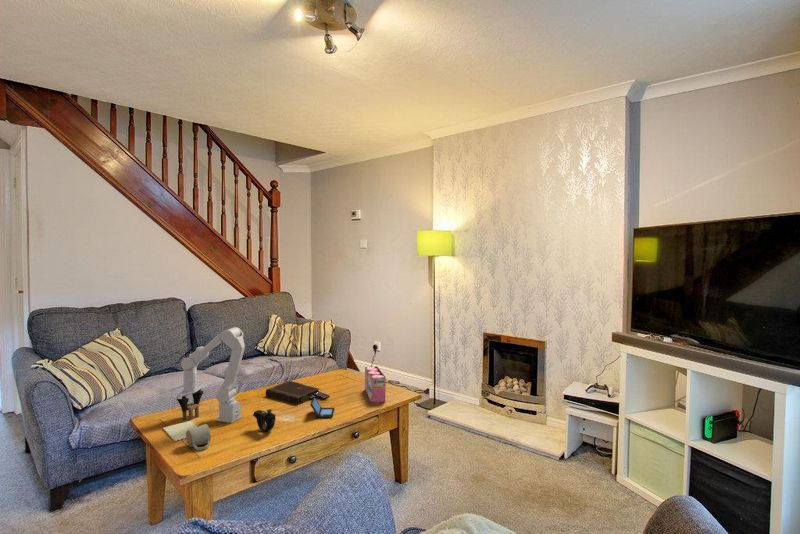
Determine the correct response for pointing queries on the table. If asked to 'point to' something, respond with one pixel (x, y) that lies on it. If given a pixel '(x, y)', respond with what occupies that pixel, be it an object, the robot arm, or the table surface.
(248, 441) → the table surface
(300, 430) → the table surface
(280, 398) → the black media player box
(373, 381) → the gum box
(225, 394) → the robot arm
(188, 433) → the ceramic mug
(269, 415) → the controller
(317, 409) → the handheld game console
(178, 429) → the mat
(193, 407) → the stool
